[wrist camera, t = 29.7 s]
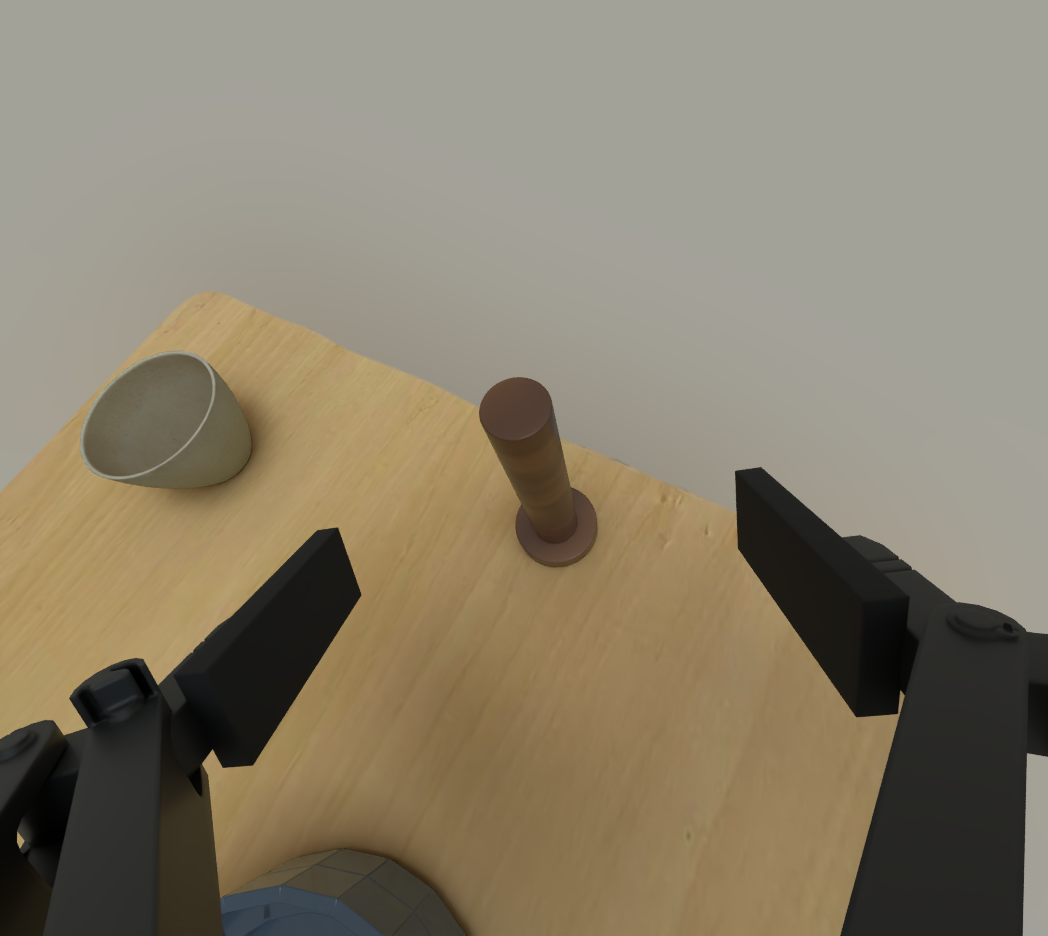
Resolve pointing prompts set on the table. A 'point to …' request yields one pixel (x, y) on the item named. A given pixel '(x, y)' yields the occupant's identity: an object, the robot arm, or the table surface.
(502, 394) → the wooden peg stand
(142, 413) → the flower pot
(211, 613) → the table surface
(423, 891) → the bowl
